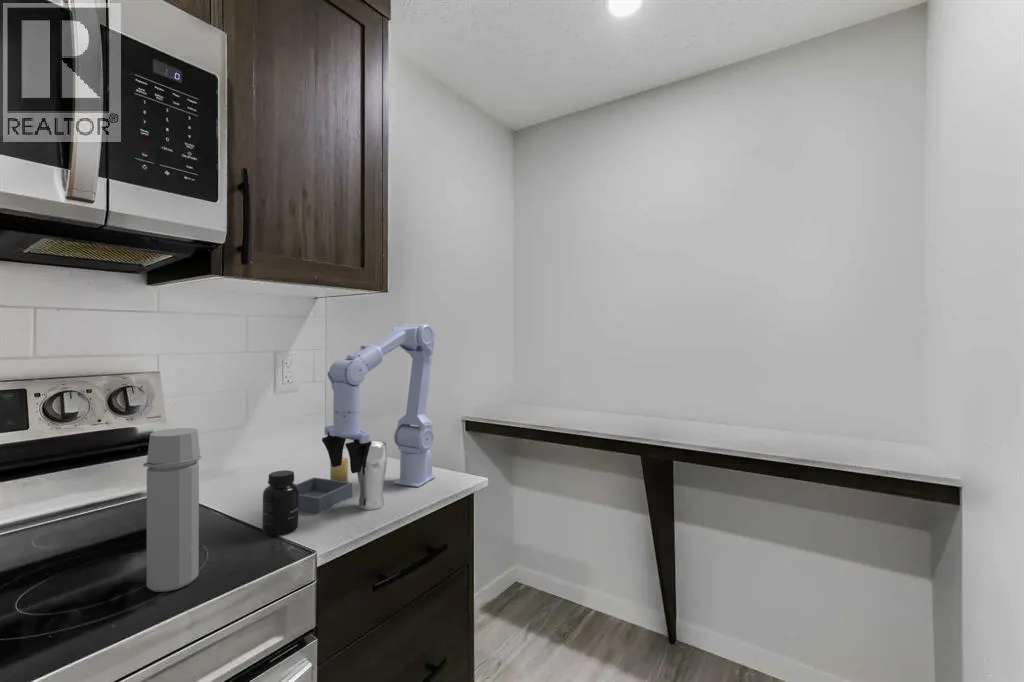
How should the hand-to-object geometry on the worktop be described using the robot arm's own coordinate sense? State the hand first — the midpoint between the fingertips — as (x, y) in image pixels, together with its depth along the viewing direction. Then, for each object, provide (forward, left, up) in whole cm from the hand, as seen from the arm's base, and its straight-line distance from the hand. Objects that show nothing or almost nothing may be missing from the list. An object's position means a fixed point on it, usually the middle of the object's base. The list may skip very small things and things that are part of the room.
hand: (346, 469), depth 111 cm
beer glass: (-4, +4, -10) cm, 11 cm away
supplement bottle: (+14, -5, -10) cm, 18 cm away
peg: (-14, -13, -10) cm, 21 cm away
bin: (-2, -10, -10) cm, 14 cm away
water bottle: (+36, -6, -10) cm, 38 cm away
